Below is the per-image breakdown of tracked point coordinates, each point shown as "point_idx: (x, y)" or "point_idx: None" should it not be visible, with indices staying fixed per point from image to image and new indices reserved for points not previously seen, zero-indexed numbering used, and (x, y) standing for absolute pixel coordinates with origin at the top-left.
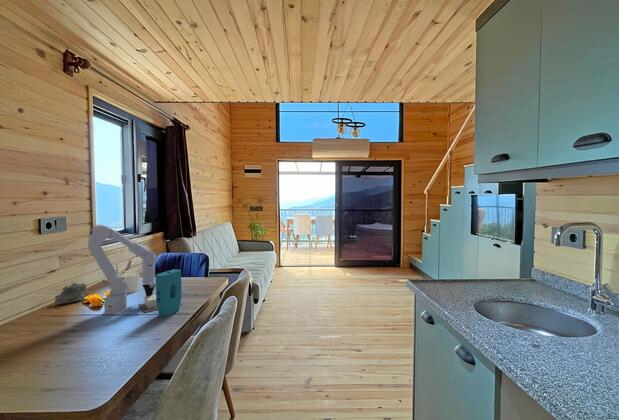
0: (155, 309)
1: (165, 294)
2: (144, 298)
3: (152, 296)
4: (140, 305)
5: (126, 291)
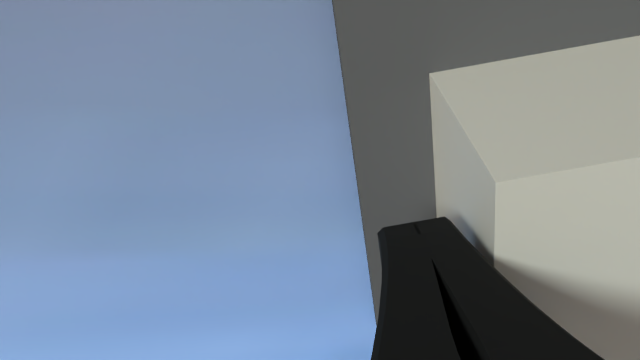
0: None
1: None
2: None
3: (629, 241)
4: None
5: None
